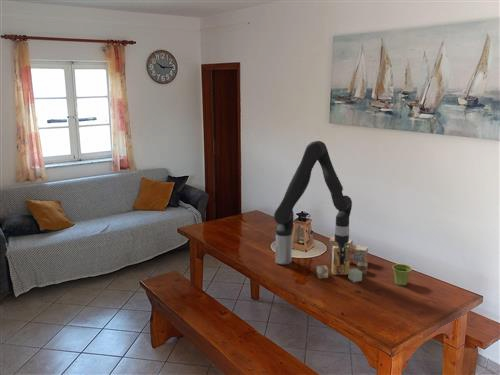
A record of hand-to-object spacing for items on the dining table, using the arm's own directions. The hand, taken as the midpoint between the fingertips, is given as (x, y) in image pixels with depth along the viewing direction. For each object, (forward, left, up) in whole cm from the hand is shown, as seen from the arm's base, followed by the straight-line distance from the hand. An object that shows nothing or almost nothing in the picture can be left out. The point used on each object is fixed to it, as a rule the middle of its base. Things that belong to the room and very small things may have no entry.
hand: (340, 261), depth 241 cm
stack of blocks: (+6, +18, -8) cm, 20 cm away
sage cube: (+7, -7, -7) cm, 12 cm away
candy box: (0, 0, -7) cm, 7 cm away
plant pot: (+30, -10, -7) cm, 32 cm away
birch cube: (-10, -4, -7) cm, 13 cm away
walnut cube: (+12, +2, -7) cm, 14 cm away
